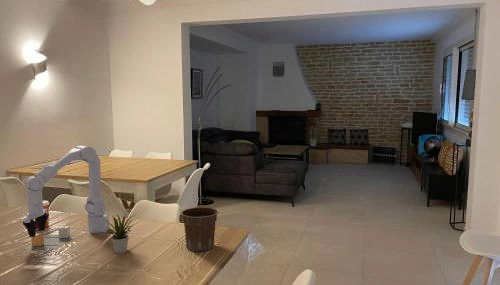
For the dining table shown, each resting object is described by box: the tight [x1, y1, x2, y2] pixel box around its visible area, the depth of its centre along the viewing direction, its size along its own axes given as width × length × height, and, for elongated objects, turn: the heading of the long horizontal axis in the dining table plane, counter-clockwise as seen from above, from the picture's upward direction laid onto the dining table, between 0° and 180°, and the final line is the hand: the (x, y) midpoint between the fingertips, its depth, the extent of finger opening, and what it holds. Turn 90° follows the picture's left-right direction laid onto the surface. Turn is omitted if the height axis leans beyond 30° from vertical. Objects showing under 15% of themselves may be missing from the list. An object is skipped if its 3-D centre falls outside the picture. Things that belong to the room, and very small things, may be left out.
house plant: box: [103, 213, 136, 254], centre depth 167 cm, size 14×14×16 cm
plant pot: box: [180, 206, 219, 252], centre depth 171 cm, size 16×16×16 cm
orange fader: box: [30, 232, 45, 246], centre depth 170 cm, size 4×3×5 cm
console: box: [24, 233, 76, 250], centre depth 175 cm, size 14×18×1 cm
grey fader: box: [57, 225, 71, 238], centre depth 180 cm, size 4×3×5 cm
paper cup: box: [34, 200, 50, 230], centre depth 196 cm, size 8×8×14 cm
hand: (37, 233), depth 170 cm, fingers open, 7 cm apart
